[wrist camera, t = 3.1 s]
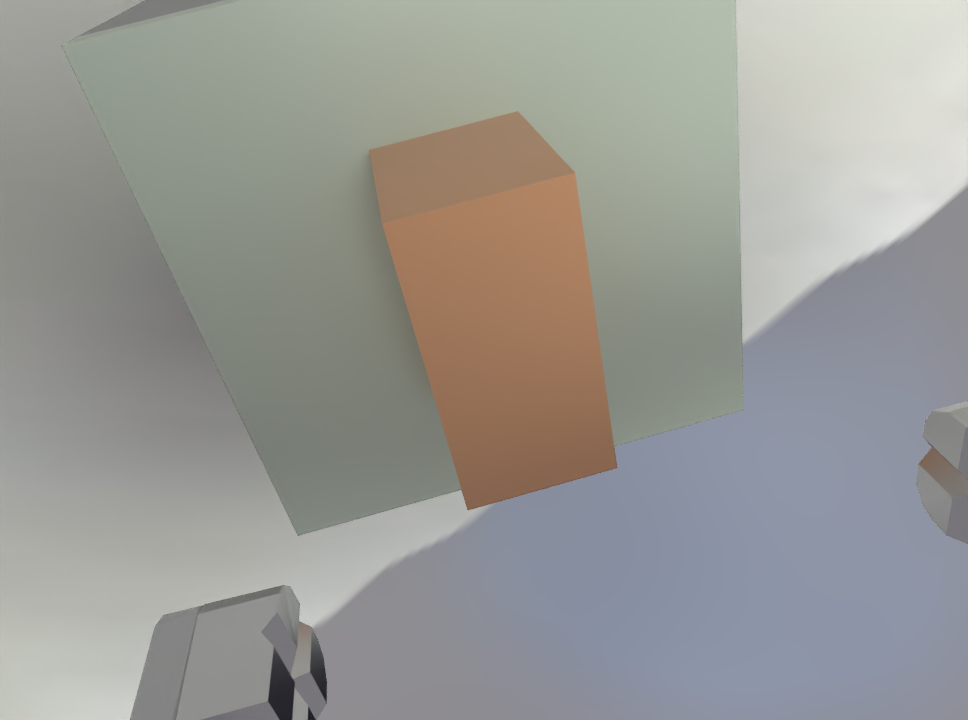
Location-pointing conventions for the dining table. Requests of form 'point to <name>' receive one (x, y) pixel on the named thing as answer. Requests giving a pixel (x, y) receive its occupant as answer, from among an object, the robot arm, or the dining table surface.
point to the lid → (440, 229)
